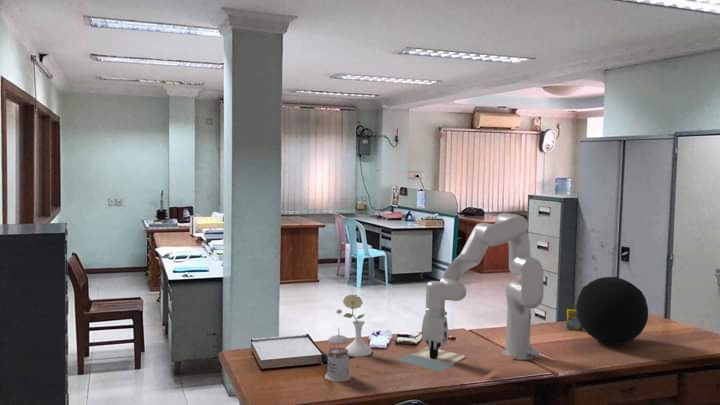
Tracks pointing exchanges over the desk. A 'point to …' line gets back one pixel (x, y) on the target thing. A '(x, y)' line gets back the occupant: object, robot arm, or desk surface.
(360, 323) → the flower in vase
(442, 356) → the plank
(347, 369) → the french press
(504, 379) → the desk surface
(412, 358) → the grey rectangular panel
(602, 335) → the sphere
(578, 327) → the crayon box
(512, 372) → the desk surface
